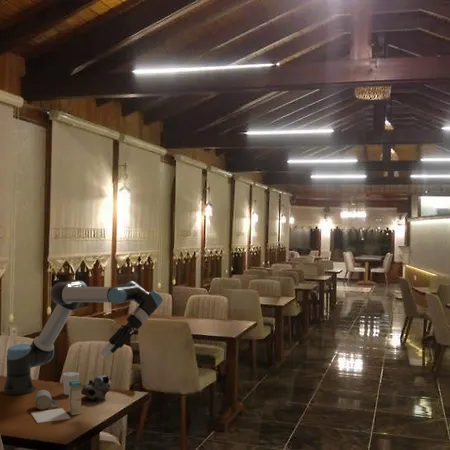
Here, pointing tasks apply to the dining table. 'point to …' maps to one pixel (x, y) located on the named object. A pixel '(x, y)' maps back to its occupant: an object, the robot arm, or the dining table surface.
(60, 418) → the grey mat
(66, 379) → the white cup
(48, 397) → the ceramic mug
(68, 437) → the dining table surface
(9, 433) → the dining table surface
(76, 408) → the beige long block
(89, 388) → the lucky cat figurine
